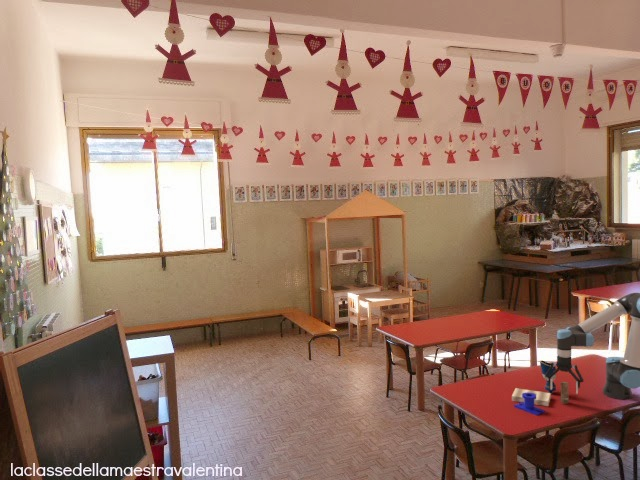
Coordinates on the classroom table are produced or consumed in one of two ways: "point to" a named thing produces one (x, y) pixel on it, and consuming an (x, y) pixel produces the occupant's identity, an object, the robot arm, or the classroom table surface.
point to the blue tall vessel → (545, 368)
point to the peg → (564, 393)
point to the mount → (529, 404)
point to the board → (541, 399)
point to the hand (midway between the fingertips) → (564, 390)
